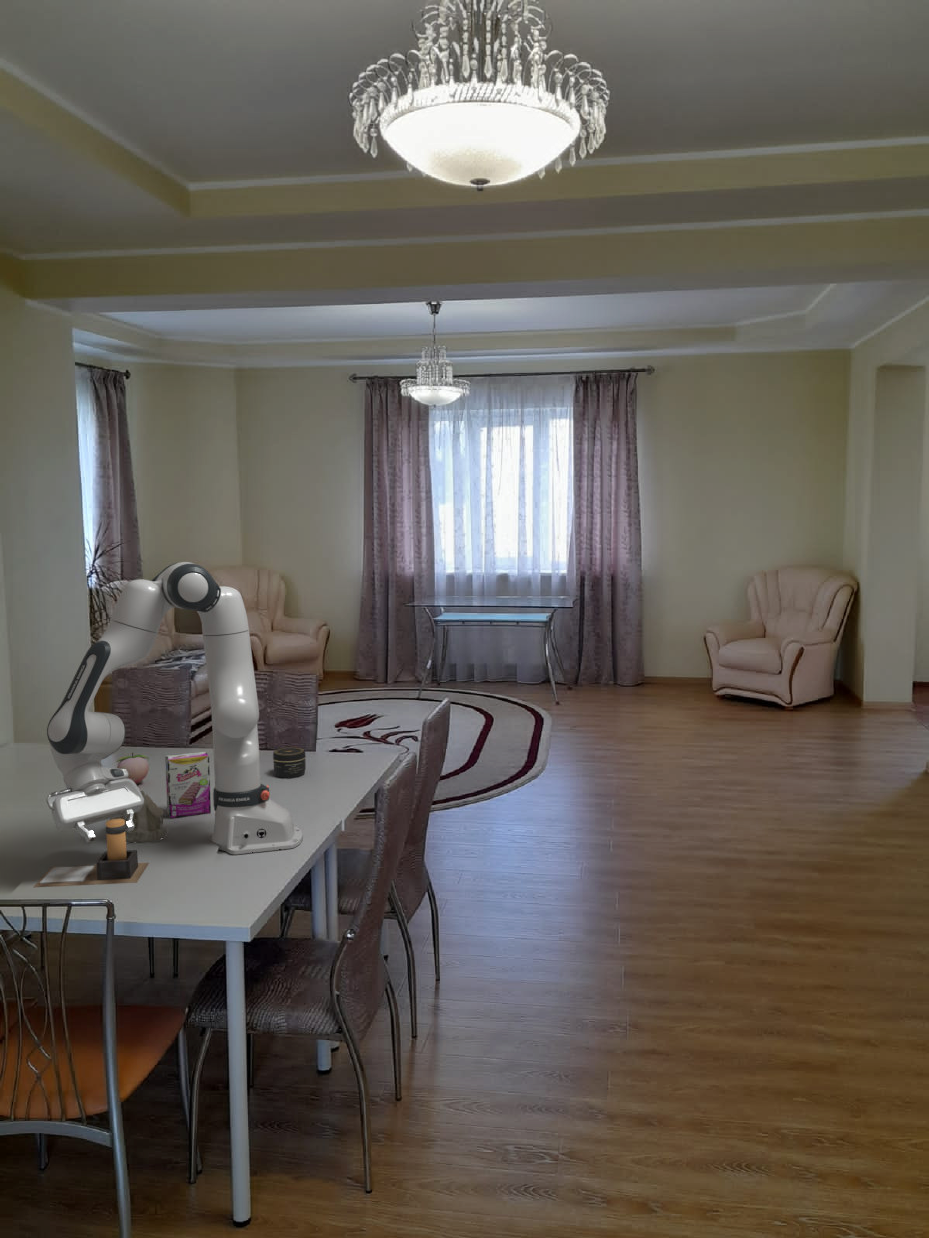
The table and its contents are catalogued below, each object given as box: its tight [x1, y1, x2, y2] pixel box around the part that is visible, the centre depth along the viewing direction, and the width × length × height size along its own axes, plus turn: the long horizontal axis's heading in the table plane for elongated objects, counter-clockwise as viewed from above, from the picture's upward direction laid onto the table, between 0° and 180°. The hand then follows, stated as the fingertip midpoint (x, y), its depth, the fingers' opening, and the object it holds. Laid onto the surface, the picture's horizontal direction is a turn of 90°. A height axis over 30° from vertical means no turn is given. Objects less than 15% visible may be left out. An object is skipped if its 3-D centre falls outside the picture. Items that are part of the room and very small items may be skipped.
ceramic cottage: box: [109, 790, 168, 843], centre depth 251 cm, size 16×16×15 cm
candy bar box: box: [164, 751, 212, 819], centre depth 266 cm, size 11×5×16 cm, turn 115°
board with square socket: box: [33, 849, 150, 888], centre depth 219 cm, size 22×12×6 cm, turn 95°
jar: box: [272, 747, 307, 780], centre depth 304 cm, size 10×10×8 cm
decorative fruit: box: [116, 752, 150, 785], centre depth 295 cm, size 9×8×10 cm
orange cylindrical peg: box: [105, 819, 127, 861], centre depth 219 cm, size 4×4×12 cm
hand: (111, 834), depth 220 cm, fingers open, 8 cm apart
